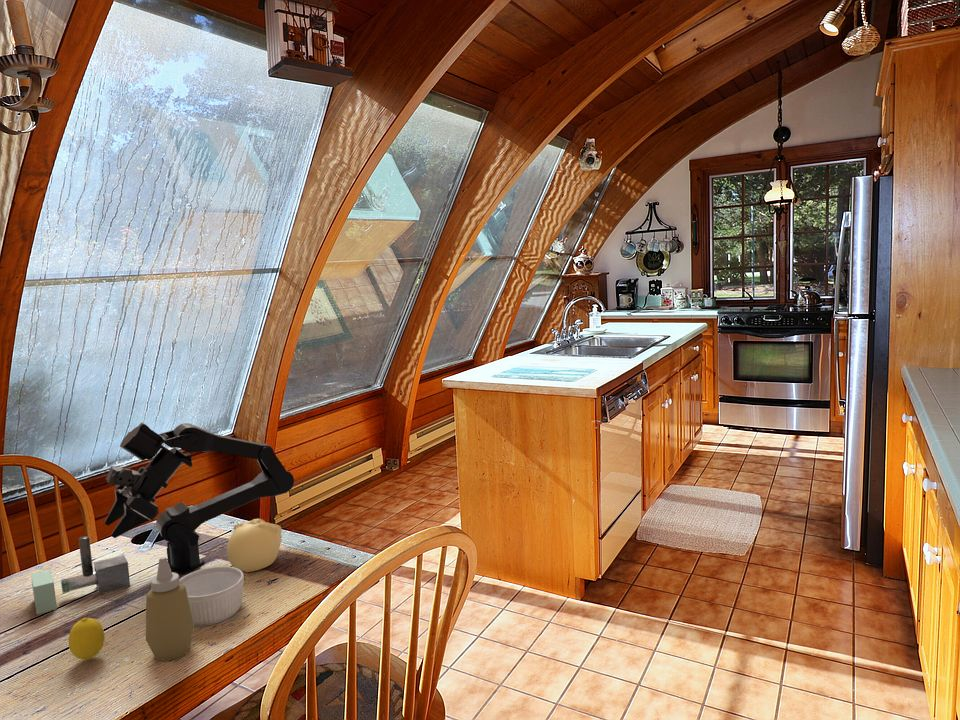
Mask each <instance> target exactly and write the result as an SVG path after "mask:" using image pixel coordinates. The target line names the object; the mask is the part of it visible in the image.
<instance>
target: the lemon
mask: <svg viewBox="0 0 960 720" xmlns="http://www.w3.org/2000/svg"><path fill="white" fill-rule="evenodd" d="M105 639H106V638H105V631H104V628H103V626H102V623H101V622H100V621H99V620H97V619H96V618H93V617H92V618H91V617H88V618H87V617H83V618H81V619H80V620H78V621H77V622H76V623H75V624H73V626H72V627H71V629H70V631H69V635H68V647H69V648H68V649H69V650H70V652H71V654H72V656H74V657H75V658H76V659H80V660H87V661H90V660H92V658H93V657H95V656H96V655H98V654H99V653H100V652H101V650H102V648H104V647H103V646H104V643H105Z"/></svg>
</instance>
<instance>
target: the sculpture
mask: <svg viewBox="0 0 960 720" xmlns="http://www.w3.org/2000/svg"><path fill="white" fill-rule="evenodd" d="M233 530H234V531H233V532H232V533H231V535H230V537H229V538H228V541H227V544H226V557H227V559H228V562H229V563H230V564H231V565H230V566H231V567H234V568H237V569H239V570H241V571H242V572H244V573H245V572H247V573H248V572H255V571H259V570H262V569H265V568H266V567H268V566H270V565H272V564H273V563H274V562H275V561H276V559H277V557H278V555H279V550H280V547H281V544H282V541H283V539H282V538H283V536H282V527H281V525H279V524H276V523H271V522H267V521H265V520H264V519H261V518H253V519H252V520H249V521H246V522H240V523H238V524H235V525H234V526H233Z"/></svg>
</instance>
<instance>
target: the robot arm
mask: <svg viewBox="0 0 960 720" xmlns="http://www.w3.org/2000/svg"><path fill="white" fill-rule="evenodd" d="M163 444H165V445H166V446H168V447H169V448H171V449H169V448H167V447H166V446H164V445H163ZM119 447H120V448H121V449H123V450H124V451H126V452H128V453H129V454H131V455H132V456H134V457H135V458H137V459H138V460H140V461H142V462H143V461H145V460H148V461H150V460H151V461H150V462H149V463H148V464H147V465H146V466H145V467H144V466H142V467H141V466H140V467H139V468H138V469H137V470H133V469H130V468H126V467H120V466H116V465H115V466H114V465H111V466H110V468H109V470H108V473H107V476H106V478H105V481H107V484H110V485H113V486H114V487H115V488H114V495H115V499H114V503H113V504H112V506H111V509H110V510H109V512H108V515H107V516H106V519H105V521H104V525H106V526H110V525H112V524H114V523H115V522H117V521H118V522H117V524H116V526H115V528H114V529H113V530H112V532H111V534H110V536H111V537H113V538H114V539H116V538H118V537H120V536H122V535H124V534H125V533H128V532H129V531H131V530H133V529H134V528H136V527H138V526H140V525H142V524H144V523H146V522H150V521H154V520H155V519H156V521H155V528H156V529H157V531H158V533H159V534H160V536H161V537H162V539H164V541H166V546H167V547H166V555H167V556H166V558H167V561H168V564H169V566H170V569H171V572H173V573H177V574H178V573H179V574H189V573H190V572H191V571H193V570H194V569H196V568H197V567H199V566H201V565H203V564H204V563H206V561H205V559H200V558H201V557H200V549H199V547H200V546H199V539H200V535H199V534H198V532H196V530H197V529H198V528H199V527H200V526H201V525H203V524H204V523H206V522H207V521H210V520H212V519H215V518H217V517H220V516H222V515H224V514H226V513H229V512H232V510H236V509H238V508H240V507H242V506H245V505H247V504H248V503H249V504H250V502H254V501H255V500H258V499H261V498H270V497H276V496H280V495H285V494H286V493H289V492H290V491H291V490H292V488H293V486H294V484H295V477H294V475H293V473H292V472H290V471H288V470H286V468H285V467H284V465H283V463H282V462H281V461H280V459H279V458H278V456H277V455H276V453H275V451H274V449H273V447H272V446H270V445H268V444H267V443H264V442H256V441H251V440H245V439H243V438H242V439H240V438H238V437H237V438H236V437H231V436H226V435H222V434H221V435H220V434H217V433H214V432H211V431H209V430H206V429H204V428H202V427H200V426H197V425H194V424H192V423H187V422H183V423H180V424H178V425H177V426H176V427H175V428H174V429H172V430H168V431H165V432H161V433H157V432H156V431H154V430H153V429H151V428H150V427H149V425H147V424H145V423H144V422H141V423H139V425H137V426H136V427H135V428H133V429H132V430H131V431H129V432H127V433H126V435H125V436H124V437H123V439H122V441H121V442H120V445H119ZM179 449H180V450H182V451H184V452H186V453H184V452H182V451H180V450H179ZM187 452H188V453H187ZM205 452H206V453H207V452H217V453H222V454H223V453H224V454H226V455H227V454H228V455H233V456H238V457H243V458H250V459H255V460H257V463H258V465H259V468H260V469H261V472H260V473H258V475H257V476H255V477H254V479H253V480H251V481H249V482H247V483H245V484H242V485H240V486H238V487H234V488H233V489H231V490H228V491H226V492H224V493H221V494H218V495H216V496H214V497H212V498H210V499H207V500H204V501H202V502H200V503H198V504H196V505H192V506H191V505H190V506H188V505H186V503H185V502H184V501H181V502H179V503H177V504H175V505H173V506H171V507H165V508H164V509H165V511H163V512H161V513H160V514H159V512H160V511H159V507H158V505H157V504H156V503H155V502H156V498H155V497H157V494H158V493H159V492H161V490H162V489H163V488H164V489H166V488H167V487H168V486H169V483H168V482H169V480H170V479H171V478H172V477H173V476H174V474H175V473H176V472H177V471H178V469H179V468H181V466H182V465H183V464H184V465H186V466H188V467H190V468H191V467H193V461H192V454H191V453H205ZM157 516H158V517H157ZM156 517H157V518H156ZM119 519H120V520H119Z"/></svg>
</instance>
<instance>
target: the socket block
mask: <svg viewBox="0 0 960 720" xmlns="http://www.w3.org/2000/svg"><path fill="white" fill-rule="evenodd" d="M30 576H31V584H32V585H31V586H32V594H33V600H34V605H35V611H36V615H42V614H45V612H46V613H48V612H51V611H52V610H53V611H56V610H58V606H57V598H56V597H57V596H56V591H55V582H54V578H53V574H52V570H51V568H49V569H44V570H41V571H35V572H33V573H31V574H30ZM53 611H52V612H53Z"/></svg>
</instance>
